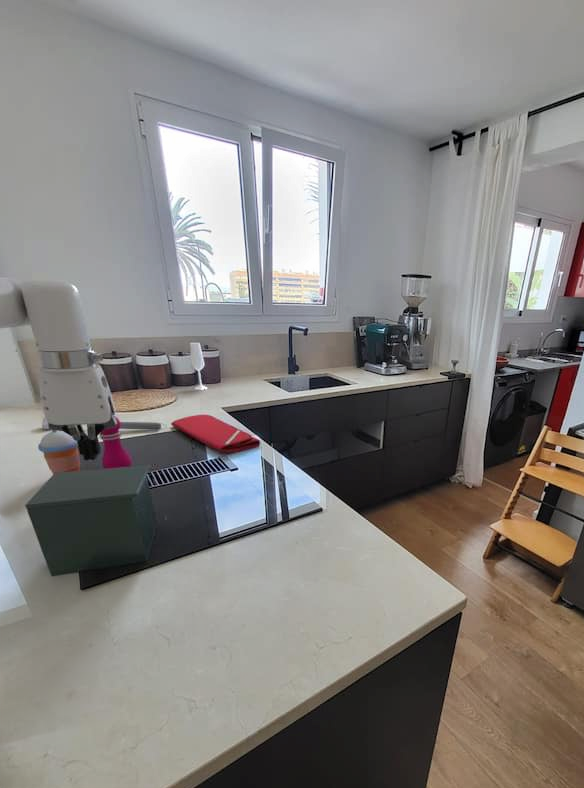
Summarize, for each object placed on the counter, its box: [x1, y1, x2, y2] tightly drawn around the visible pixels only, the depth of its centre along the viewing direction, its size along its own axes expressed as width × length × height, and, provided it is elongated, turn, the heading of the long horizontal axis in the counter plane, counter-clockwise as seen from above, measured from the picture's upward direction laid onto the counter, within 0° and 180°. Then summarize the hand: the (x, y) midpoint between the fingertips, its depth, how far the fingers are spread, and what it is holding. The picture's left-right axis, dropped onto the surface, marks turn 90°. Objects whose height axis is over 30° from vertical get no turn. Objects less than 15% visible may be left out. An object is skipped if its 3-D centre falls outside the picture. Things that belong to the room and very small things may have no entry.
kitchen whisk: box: [119, 421, 168, 430], centre depth 148 cm, size 6×34×6 cm, turn 102°
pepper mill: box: [98, 415, 133, 469], centre depth 110 cm, size 7×7×20 cm
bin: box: [26, 476, 158, 577], centre depth 80 cm, size 17×14×15 cm
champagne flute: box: [189, 342, 208, 391], centre depth 211 cm, size 7×7×24 cm
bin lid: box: [24, 464, 151, 510], centre depth 77 cm, size 18×14×1 cm
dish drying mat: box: [170, 414, 261, 454], centre depth 147 cm, size 16×41×4 cm, turn 45°
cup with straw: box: [37, 430, 82, 475], centre depth 109 cm, size 9×9×18 cm
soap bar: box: [41, 416, 50, 430], centre depth 152 cm, size 10×6×6 cm, turn 121°
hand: (91, 457), depth 75 cm, fingers closed
